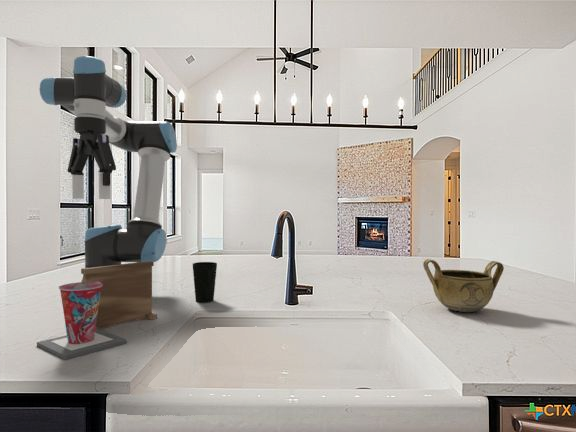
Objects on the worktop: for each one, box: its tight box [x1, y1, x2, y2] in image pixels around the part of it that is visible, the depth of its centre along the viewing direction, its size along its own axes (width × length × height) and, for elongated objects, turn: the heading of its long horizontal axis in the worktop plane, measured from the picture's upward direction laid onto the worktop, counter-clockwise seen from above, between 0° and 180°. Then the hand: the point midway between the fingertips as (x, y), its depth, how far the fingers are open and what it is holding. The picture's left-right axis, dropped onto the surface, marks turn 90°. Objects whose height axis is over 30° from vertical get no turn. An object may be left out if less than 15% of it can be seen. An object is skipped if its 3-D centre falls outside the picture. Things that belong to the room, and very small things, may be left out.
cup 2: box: [192, 261, 218, 304], centre depth 133 cm, size 8×8×12 cm
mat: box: [36, 329, 128, 360], centre depth 90 cm, size 13×13×1 cm
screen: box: [80, 261, 158, 330], centre depth 106 cm, size 6×19×15 cm, turn 143°
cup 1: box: [58, 281, 103, 344], centre depth 90 cm, size 9×8×12 cm
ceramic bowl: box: [422, 258, 505, 313], centre depth 123 cm, size 22×17×15 cm
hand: (91, 199), depth 110 cm, fingers open, 13 cm apart
